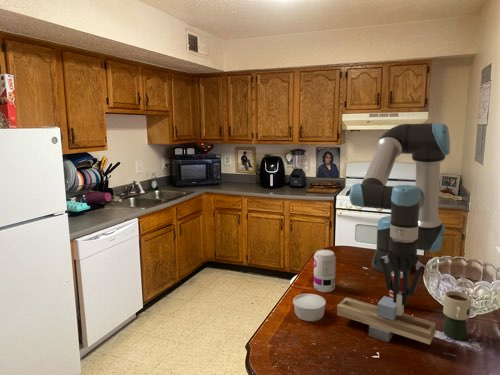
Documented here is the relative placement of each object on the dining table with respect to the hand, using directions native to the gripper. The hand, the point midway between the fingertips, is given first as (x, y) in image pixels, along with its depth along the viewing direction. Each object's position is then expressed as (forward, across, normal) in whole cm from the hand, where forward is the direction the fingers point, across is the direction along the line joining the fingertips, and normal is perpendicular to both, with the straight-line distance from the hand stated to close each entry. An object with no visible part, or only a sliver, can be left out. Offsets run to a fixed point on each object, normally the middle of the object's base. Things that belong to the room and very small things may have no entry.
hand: (399, 313), depth 111 cm
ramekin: (+8, -29, -4) cm, 30 cm away
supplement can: (+8, -34, +17) cm, 38 cm away
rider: (+3, -3, 0) cm, 5 cm away
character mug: (+8, +14, +11) cm, 19 cm away
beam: (+8, -4, 0) cm, 9 cm away
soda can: (+8, -6, +20) cm, 22 cm away
